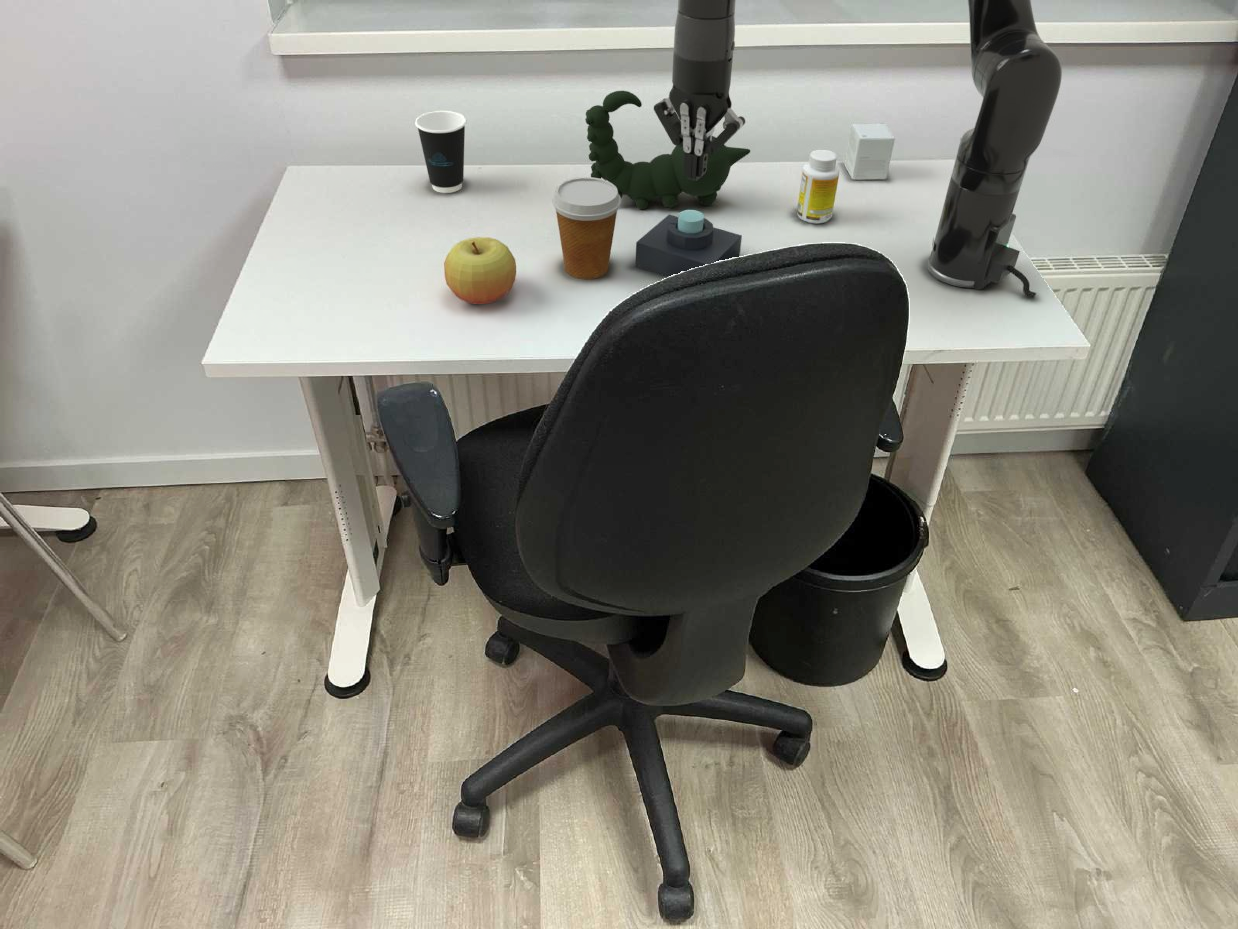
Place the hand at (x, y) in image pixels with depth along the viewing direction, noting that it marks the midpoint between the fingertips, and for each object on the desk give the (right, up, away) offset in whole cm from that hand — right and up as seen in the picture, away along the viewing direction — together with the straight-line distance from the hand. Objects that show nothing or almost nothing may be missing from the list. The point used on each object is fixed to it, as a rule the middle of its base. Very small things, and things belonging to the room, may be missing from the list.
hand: (694, 177), depth 136 cm
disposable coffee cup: (-15, -11, +7) cm, 20 cm away
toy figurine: (-3, +3, +23) cm, 24 cm away
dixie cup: (-38, +6, +26) cm, 47 cm away
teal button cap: (0, -6, +5) cm, 8 cm away
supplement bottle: (+20, 0, +21) cm, 29 cm away
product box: (+32, +10, +33) cm, 47 cm away
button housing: (0, -10, +9) cm, 13 cm away
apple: (-29, -16, +2) cm, 34 cm away
